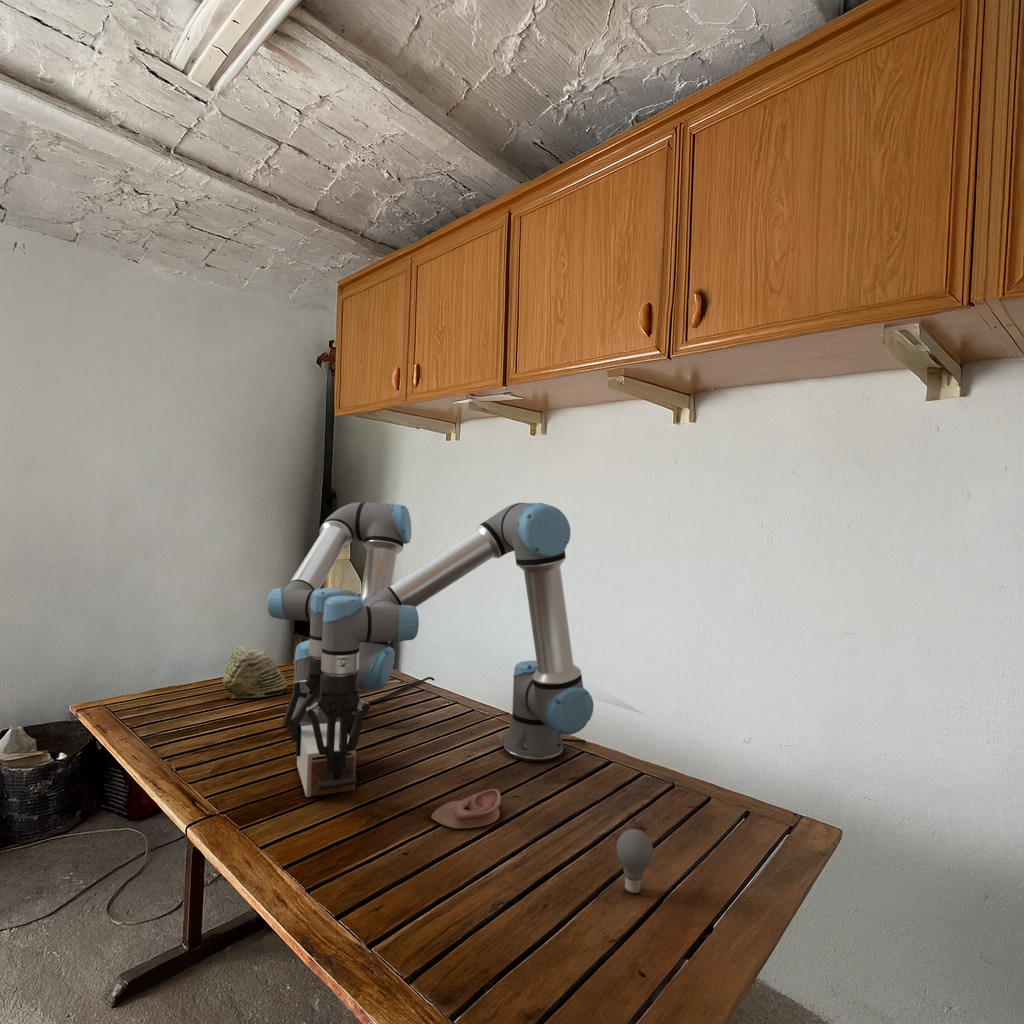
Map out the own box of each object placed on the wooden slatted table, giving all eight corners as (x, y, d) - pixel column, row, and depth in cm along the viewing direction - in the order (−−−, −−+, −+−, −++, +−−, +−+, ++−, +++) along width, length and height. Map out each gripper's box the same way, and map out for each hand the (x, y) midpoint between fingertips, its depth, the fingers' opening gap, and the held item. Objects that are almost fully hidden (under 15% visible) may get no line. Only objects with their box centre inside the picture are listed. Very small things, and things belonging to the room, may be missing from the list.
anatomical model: (426, 804, 124) (444, 779, 135) (425, 824, 124) (443, 798, 135) (492, 814, 121) (505, 787, 132) (491, 834, 121) (504, 806, 133)
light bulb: (610, 879, 108) (613, 822, 108) (644, 879, 109) (647, 822, 109) (619, 902, 102) (622, 840, 102) (655, 901, 103) (658, 840, 103)
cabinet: (354, 789, 138) (355, 748, 137) (306, 797, 133) (307, 754, 133) (340, 759, 153) (341, 721, 153) (296, 764, 149) (298, 726, 149)
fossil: (218, 695, 195) (220, 647, 195) (278, 685, 208) (279, 640, 207) (228, 703, 189) (230, 653, 188) (289, 692, 201) (290, 645, 201)
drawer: (359, 802, 130) (360, 768, 130) (314, 810, 126) (316, 774, 126) (340, 761, 150) (341, 730, 150) (301, 766, 146) (302, 735, 146)
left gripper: (275, 663, 139) (271, 764, 139) (378, 656, 148) (374, 750, 149) (272, 655, 145) (268, 751, 146) (371, 649, 155) (367, 739, 155)
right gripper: (309, 679, 124) (304, 798, 125) (375, 674, 130) (370, 788, 130) (304, 669, 131) (299, 782, 131) (367, 665, 137) (362, 773, 137)
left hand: (322, 751), depth 147 cm, fingers closed on cabinet, 10 cm apart
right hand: (335, 785), depth 131 cm, fingers closed
